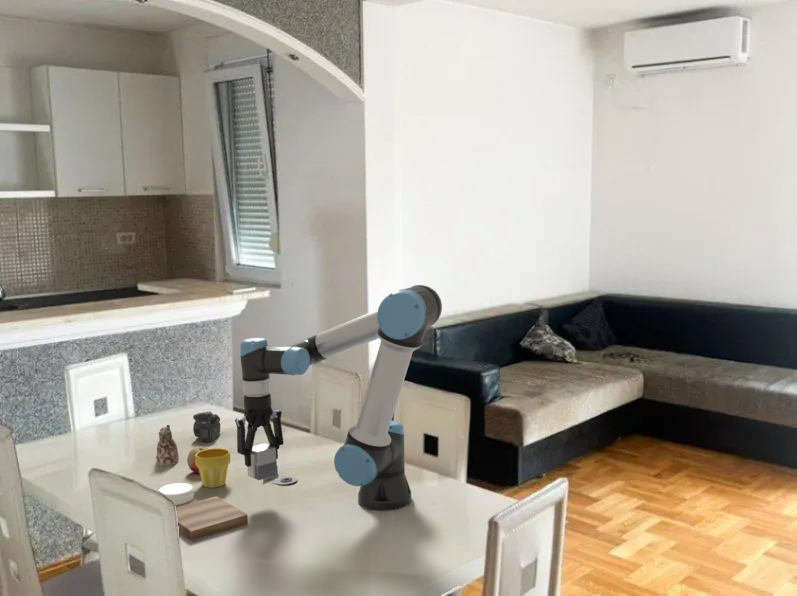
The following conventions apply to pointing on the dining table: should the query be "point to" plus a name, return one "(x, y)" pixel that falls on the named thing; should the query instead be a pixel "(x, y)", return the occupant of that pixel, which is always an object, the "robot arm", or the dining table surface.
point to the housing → (264, 461)
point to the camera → (206, 426)
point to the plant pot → (213, 466)
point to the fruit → (192, 458)
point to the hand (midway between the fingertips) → (262, 473)
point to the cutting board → (208, 517)
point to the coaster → (178, 492)
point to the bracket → (282, 480)
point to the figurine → (166, 448)
